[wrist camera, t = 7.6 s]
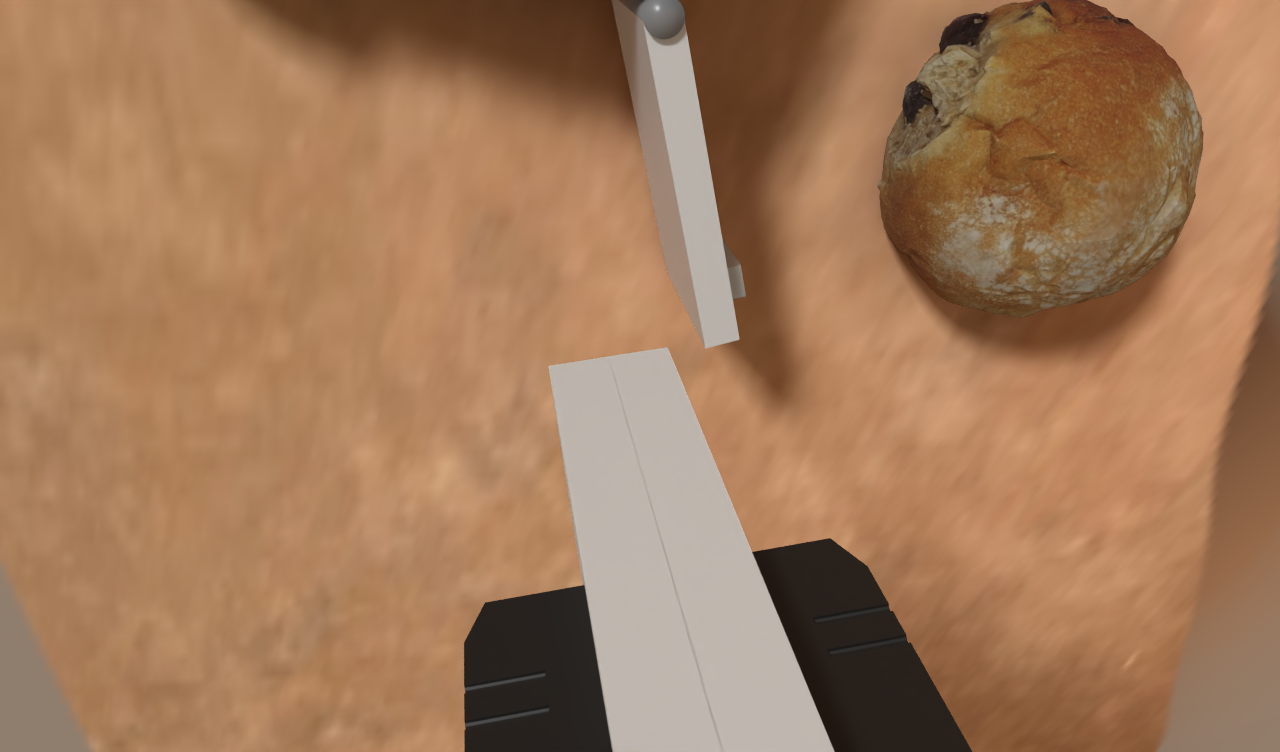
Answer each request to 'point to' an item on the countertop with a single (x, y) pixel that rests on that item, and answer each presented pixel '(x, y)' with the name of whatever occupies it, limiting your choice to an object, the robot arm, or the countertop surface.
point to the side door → (679, 164)
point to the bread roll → (1041, 158)
